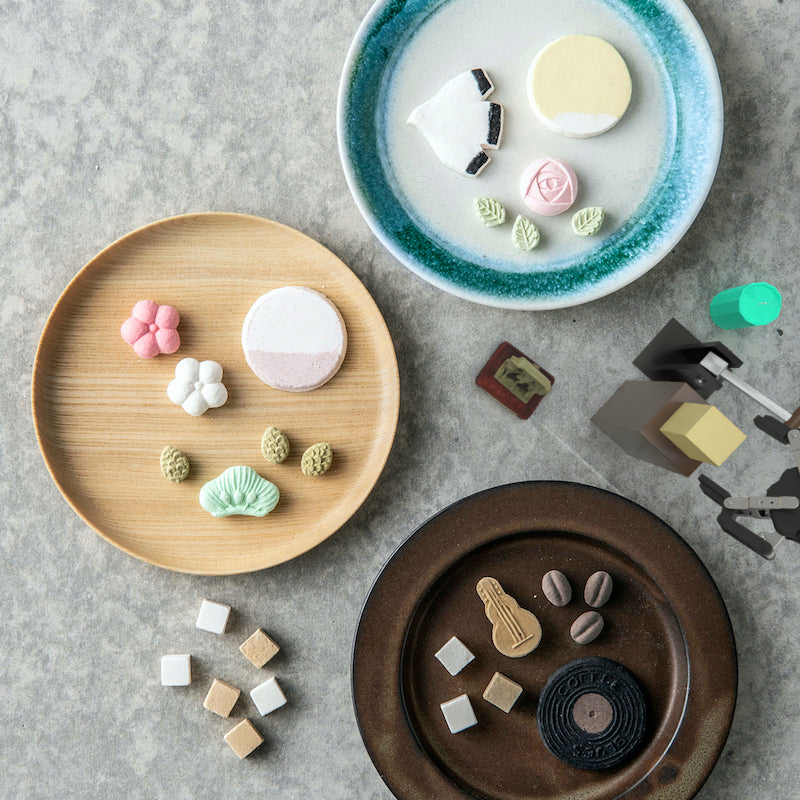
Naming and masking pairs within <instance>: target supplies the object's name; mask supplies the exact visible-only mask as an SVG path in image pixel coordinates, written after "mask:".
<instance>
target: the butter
mask: <svg viewBox="0 0 800 800" xmlns="http://www.w3.org/2000/svg"><path fill="white" fill-rule="evenodd" d="M659 430H660V431H661V432H662V433H663V434H664V435H665V436H666V437H667V438H669V439H670V440H671V441H672V442H673V443H674V444H675V445H676V446H677V447H678V448H679V449H680V450H682V451H683V452H684V453H685V454H686V455H687V456H688V457H689V458H692V459H695V460H698V461H701V462H703V463H705V464H707V465H711V466H715V467H721V465H722V464H724V463H725V461H726V460H727V459H728V458H729V457H730V456H731V455H732V454H733V453H734V451H736V450H737V449H738V448H739V446H741V444H742V443H743V442H744V441H745V440H746V439H747V438H748V436H747V435H746V434H745V433H744V432H742V430H740V429H739V427H737V426H736V425H735V424H734V423H733V422H732V421H731V420H730V419H729V418H727V416H726V415H725V414H723V413H722V412H721V411H720V410H719V409H718V408H717V407H716V406H714V405H713V404H712V405H711V404H710V405H704V404H695V403H686V402H684V403H683V404H682V406H681V407H680V408H679V409H678V410H677V411H676V412H675V413H674V414H673V415H672V416H671V417H670V418H669V419H668V420H667V422H666V423H665V424H664V425H663V426H662V427H661V428H660V429H659Z"/></svg>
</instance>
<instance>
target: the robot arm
mask: <svg viewBox="0 0 800 800" xmlns="http://www.w3.org/2000/svg"><path fill="white" fill-rule="evenodd" d="M752 421H753V424H754V426H755V428H757V429H758V430H760V431H762V432H763V433H765V434H766V435H768V436H769V437H771V438H773V439H774V440H776V441H778V442H779V443H781V444H783V445H784V446H788V445H789V446H790V448H791V450H792V453H793V456H794V460H795V463H796V466H793V467H791V468H786V469H785V470H784V471H783V472H782V473H781V475H780V477H779V479H778V480H777V481H776V482H774V483H772V484H771V485H770V486H769V487H768V488H767V489H766V490H765V491H766V494H765V496H755V495H754V496H753V495H752V496H749V497H735V496H732V494H731V493H730V492H729V491H728V490H726V489H725V488H724V487H723V486H721V485H720V484H718V483H717V482H715V481H714V480H713V479H711V477H708V476H707V475H705V473H701V474H700V475H699V476H698V477H697V481H699V484H698V487H699V488H700V490H701V491H702V493H703V494H704V495H705V496H706V497H708V498H709V499H710V500H712V501H713V502H715V503H716V504H717V505H718V506H720V507H721V511H720V514H717V517H716V522H717V524H718V525H719V526H720V529H721V530H722V531H723V532H724V533H726V534H727V535H728V536H730V537H732V538H733V539H734V540H735V541H737V542H739V543H741V545H743V546H744V547H746V548H748V549H749V550H751V551H752V552H754V553H755V554H757V555H758V556H760V557H761V558H762V559H764V560H766V561H769V562H771V561H773V560H775V559H776V557H777V554H776V552H777V551H778V549H779V548H780V547H782V544H784V543H785V541H786V540H787V541H792V542H795V543H797V544H798V545H800V427H799V428H798V429H793V428H791V427H789V426H787V425H786V424H784V422H783V421H781V420H780V419H778V418H775V416H772V415H769V414H765V415H764V416H761V415H760V414H757V415H756V416H755V417H754V418H753V419H752ZM738 517H743V518H753V519H755V520H771V522H772V525H773V529H774V532H773V533H768V532H765V531H760V532H758V533H755V532H754V531H752V530H751V529H749V528H748V527H746V526H744V525H743V524H742V523H740V522H738V521H737V519H738Z"/></svg>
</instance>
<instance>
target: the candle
mask: <svg viewBox="0 0 800 800" xmlns="http://www.w3.org/2000/svg"><path fill="white" fill-rule="evenodd" d="M782 299H783V296H782V294H781V293H780V292H779V290H778V289H777V287H776V286H774V285H772V284H770V283H769V282H765V281H760V282H758V281H757V282H751V283H747V284H743V285H740V286H735V287H731V288H728V289H724V290H721V291H720V292H719V293H717V294H716V295H714V296H713V298H712V300H711V302H710V303H709V317H710V319H711V320H712V322H713V323H714V324H715V326H717V327H718V328H720V329H723V330H725V331H727V330H737V329H745V328H746V329H747V328H753V327H760V326H767V325H768V324H770V323H772V322H773V321H775V320H776V319H778V316H779V315H780V312H781V309H782Z"/></svg>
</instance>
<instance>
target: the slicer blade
mask: <svg viewBox="0 0 800 800" xmlns="http://www.w3.org/2000/svg"><path fill="white" fill-rule="evenodd" d="M700 365H701V366H702V367H703V368H704V369H705V370H707V371H708V372H709V373H710V374H711V375H712V376H713V377H714V378H716V379H718V378H719V377H721V378H722V379H724V382H726V383H728V385H731V386H732V387H734V388H735V389H736V390H738V392H740V393H742V394H743V395H745V396H746V397H747V398H750V400H751V401H753V402H755V403H756V404H758V405H759V406H760V407H762V408H763V409H765V410H766V411H767V412H769V413H771V414H772V415H773V416H774V417H776V419H778V420H779V421H781V422H782V423H784V424H786V425H787V426H789V427H791V428H793V429H798V428H800V405H799V406H797V408H796V409H795V410H794V411H793V412H791V413H790V412H789V411H788V410H786V409H784V407H782V406H780V405H779V404H777V403H776V402H774V401H773V400H771V399H770V398H769V397H768V396H766V395H764V394H763V393H761V392H760V391H759V390H757V389H756V388H754V387H753V386H752V385H750V384H748V383H747V382H745V381H744V380H743V379H741V378H740V377H739V376H737V375H736V374H734V373H732V372H730V371H728V370H727V366H728V363H727V362H725V361H724V360H722V359H721V358H720V357H718V356H717V355H715V354H714V353H712V352H711V351H710V352H709V353H708V354H707V356H706V357H705V358H704V359H703V360H702V361H701V362H700Z"/></svg>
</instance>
